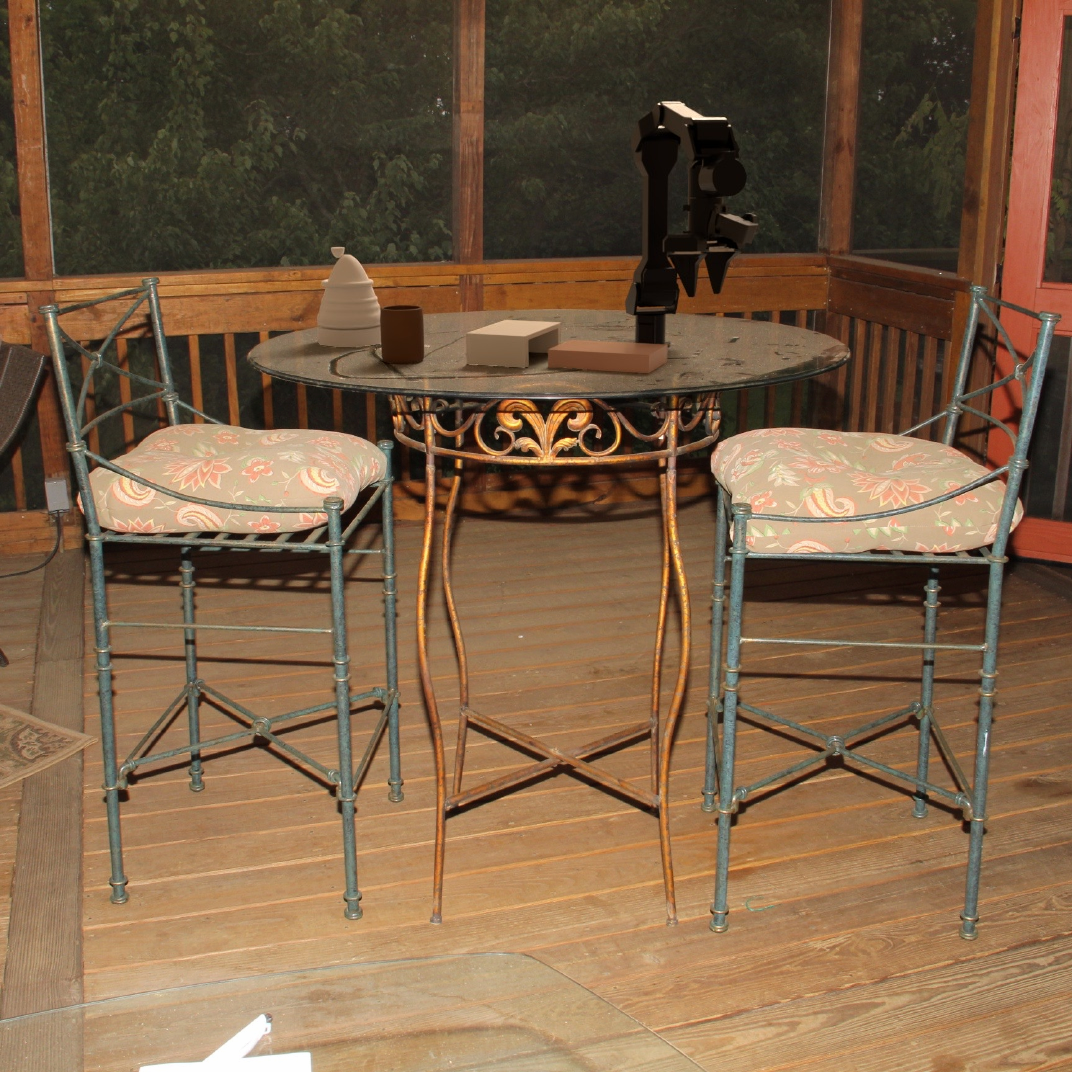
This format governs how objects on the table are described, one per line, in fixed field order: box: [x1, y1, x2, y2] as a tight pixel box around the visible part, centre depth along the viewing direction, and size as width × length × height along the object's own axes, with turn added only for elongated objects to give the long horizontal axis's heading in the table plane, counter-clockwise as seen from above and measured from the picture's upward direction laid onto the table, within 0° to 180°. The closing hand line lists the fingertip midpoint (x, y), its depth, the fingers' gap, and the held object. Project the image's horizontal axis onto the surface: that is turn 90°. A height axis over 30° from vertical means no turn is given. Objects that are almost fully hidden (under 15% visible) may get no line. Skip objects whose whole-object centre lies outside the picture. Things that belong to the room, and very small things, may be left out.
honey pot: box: [316, 246, 381, 348], centre depth 243 cm, size 13×13×18 cm
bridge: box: [465, 319, 562, 368], centre depth 226 cm, size 18×11×6 cm, turn 159°
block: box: [547, 339, 668, 374], centre depth 221 cm, size 12×18×4 cm, turn 70°
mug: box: [380, 304, 425, 365], centre depth 226 cm, size 12×8×9 cm, turn 10°
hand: (704, 295), depth 210 cm, fingers open, 9 cm apart
